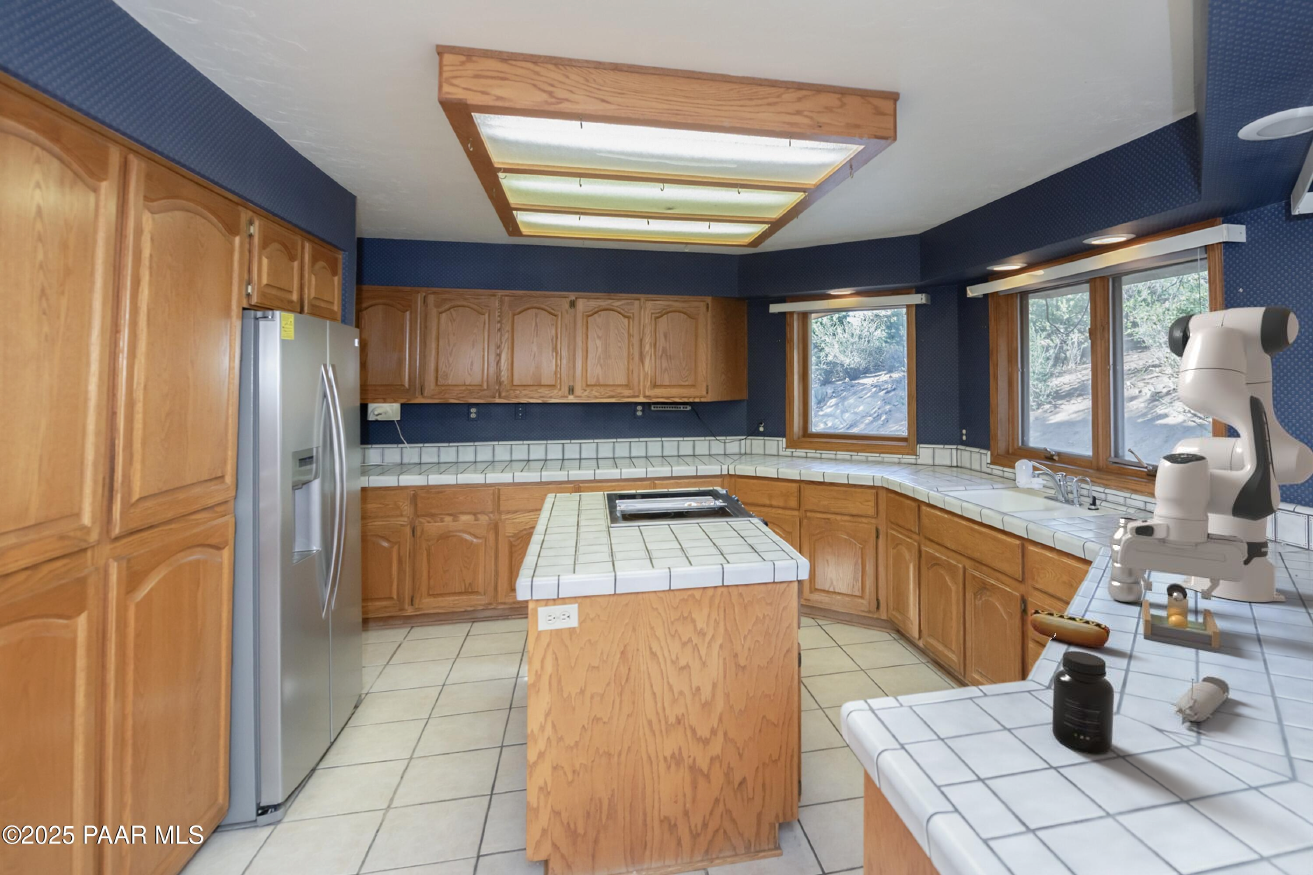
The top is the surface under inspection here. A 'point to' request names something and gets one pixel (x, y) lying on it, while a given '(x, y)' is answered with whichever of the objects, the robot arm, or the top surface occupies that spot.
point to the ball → (1178, 622)
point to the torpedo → (1202, 699)
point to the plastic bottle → (1123, 569)
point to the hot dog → (1069, 628)
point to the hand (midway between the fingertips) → (1176, 594)
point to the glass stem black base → (1177, 601)
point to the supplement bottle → (1083, 704)
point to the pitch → (1181, 630)
